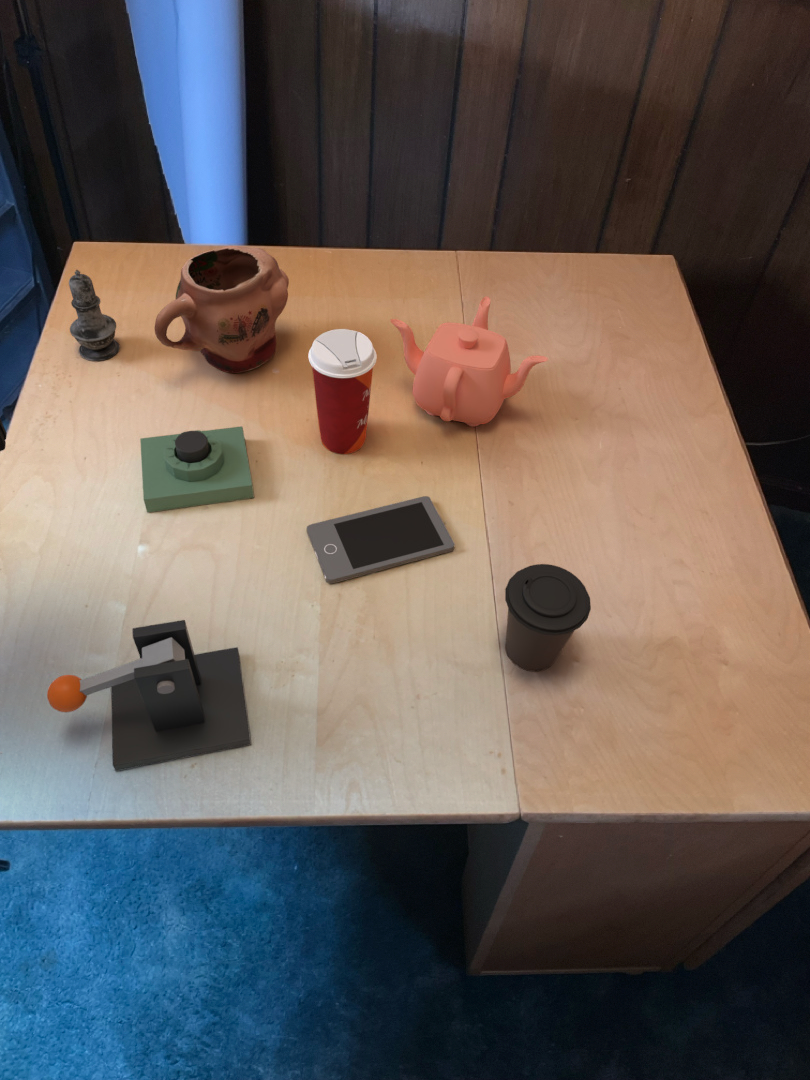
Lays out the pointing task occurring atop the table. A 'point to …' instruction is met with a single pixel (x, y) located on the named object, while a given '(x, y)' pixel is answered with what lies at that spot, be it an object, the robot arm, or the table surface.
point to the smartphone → (379, 539)
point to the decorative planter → (228, 307)
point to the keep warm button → (192, 446)
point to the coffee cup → (543, 614)
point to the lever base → (178, 703)
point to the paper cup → (342, 387)
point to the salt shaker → (91, 322)
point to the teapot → (463, 370)
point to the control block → (195, 471)
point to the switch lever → (108, 676)
